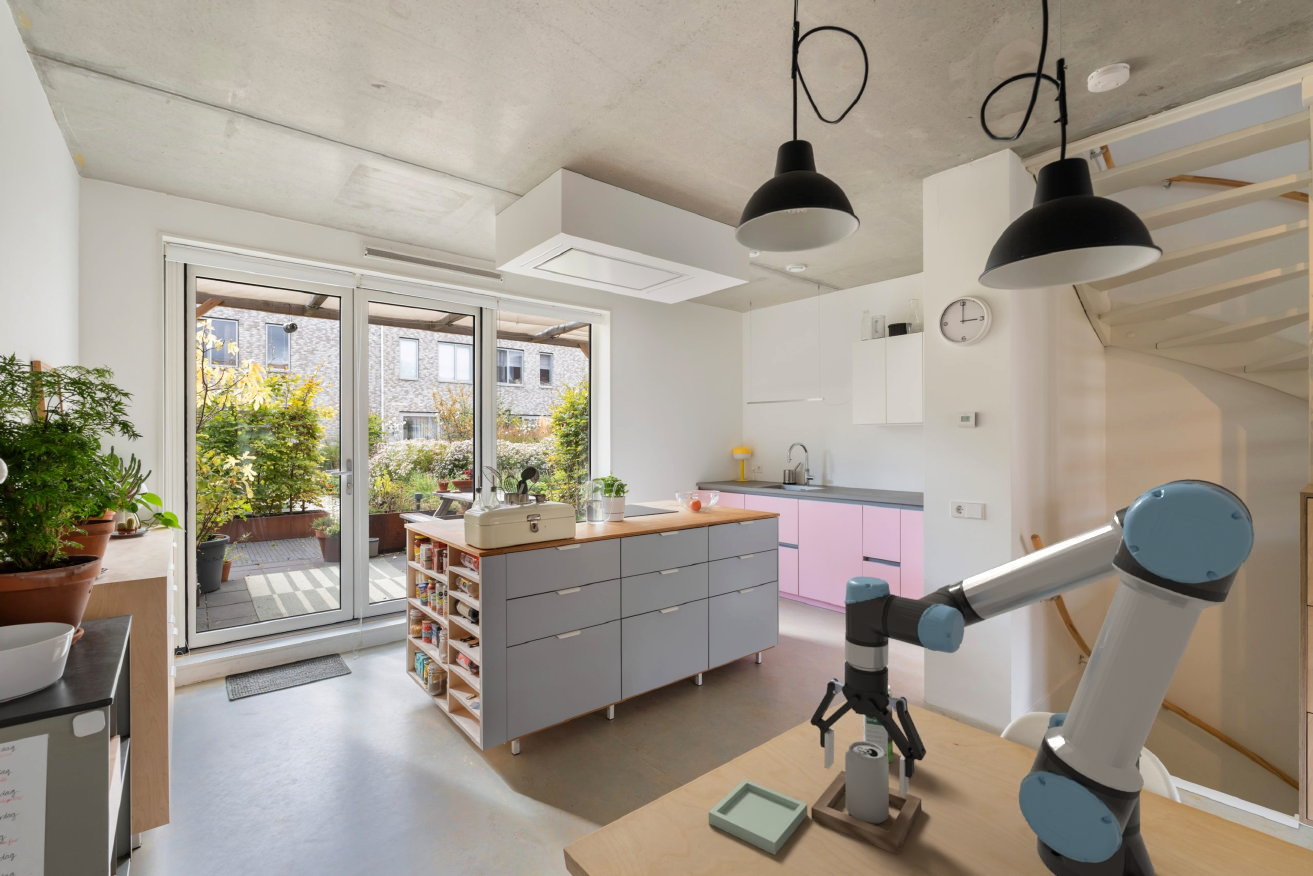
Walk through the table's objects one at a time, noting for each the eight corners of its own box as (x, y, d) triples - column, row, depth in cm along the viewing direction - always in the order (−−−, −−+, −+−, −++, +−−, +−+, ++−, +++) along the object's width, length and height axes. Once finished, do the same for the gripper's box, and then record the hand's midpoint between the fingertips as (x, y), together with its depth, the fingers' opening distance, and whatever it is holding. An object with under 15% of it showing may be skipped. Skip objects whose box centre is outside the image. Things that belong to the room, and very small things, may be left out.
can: (892, 830, 102) (892, 761, 102) (848, 824, 104) (847, 757, 104) (884, 804, 109) (884, 740, 110) (843, 799, 111) (843, 736, 111)
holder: (921, 809, 108) (921, 798, 108) (897, 855, 96) (897, 842, 96) (841, 780, 117) (841, 770, 117) (811, 818, 105) (811, 807, 105)
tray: (807, 815, 106) (807, 804, 106) (774, 855, 96) (774, 842, 96) (744, 789, 114) (744, 778, 114) (708, 823, 104) (708, 812, 104)
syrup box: (864, 759, 125) (864, 691, 125) (863, 745, 131) (862, 680, 131) (892, 763, 123) (892, 694, 123) (890, 749, 129) (890, 683, 129)
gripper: (945, 674, 102) (943, 795, 102) (810, 642, 117) (809, 747, 118) (934, 689, 96) (933, 817, 96) (794, 653, 111) (792, 763, 112)
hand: (865, 778), depth 107 cm, fingers open, 13 cm apart
